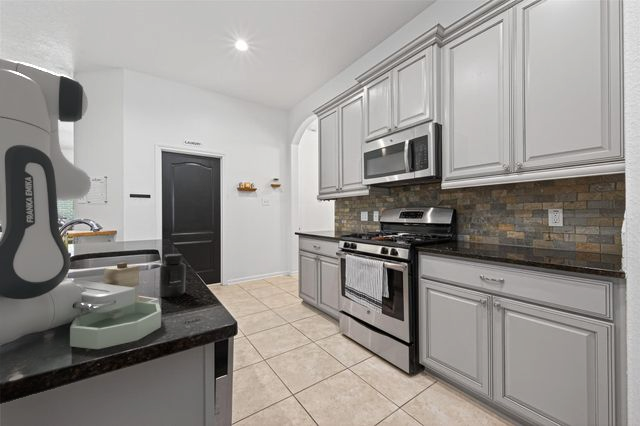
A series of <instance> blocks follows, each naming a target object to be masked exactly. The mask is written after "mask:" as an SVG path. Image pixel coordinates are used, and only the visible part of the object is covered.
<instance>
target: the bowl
mask: <svg viewBox="0 0 640 426" xmlns="http://www.w3.org/2000/svg"><path fill="white" fill-rule="evenodd" d="M119 311H124V315H123V316H120V317H117V318H114V319H113V318H109V313H116V312H119ZM69 328H70V329H69V346H70V347H75V348H83V349H91V350H92V349H94V350H101V349H104V348H109V347H114V346H118V345H124V344H126V343H127V344H128V343H133V342H137V341H139V340H140V339H143V338H144V337H146V336H147V335H150V334H151V333H153V332H154V331H157V330H159V329H160V328H162V310H161V306H160V302H159V303H151V302H138V301H136V302H135V303H134V304H132V305H130V306H127V307H123V308H120V309H116V310H112V311H108V312H103V313H93V312H87V313H85V314H82V315H81V314H80V315H79V316H76V317H75V319H74V321H73V322H71V325H70V327H69Z"/></svg>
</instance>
